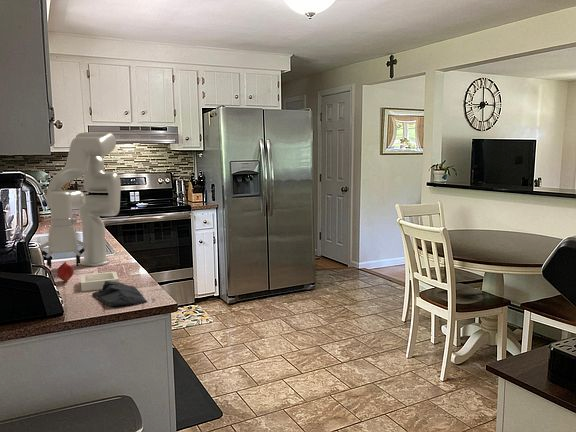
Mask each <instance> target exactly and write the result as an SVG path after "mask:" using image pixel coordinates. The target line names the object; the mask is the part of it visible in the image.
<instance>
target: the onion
mask: <svg viewBox="0 0 576 432" xmlns="http://www.w3.org/2000/svg"><path fill="white" fill-rule="evenodd" d="M56 275H57V277H58V279H60V280H62V281H63V282H68V281H69V280H70V279H71V278H72V277H73V275H74V269H73V267H72V266H71V265H70V264H68V263H67V261H64V262H63V263H62V264H61V265H60V266H59V267H58V269H57V271H56Z"/></svg>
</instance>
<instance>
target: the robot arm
mask: <svg viewBox="0 0 576 432" xmlns="http://www.w3.org/2000/svg"><path fill="white" fill-rule="evenodd" d="M116 140H117V139H116V137H115V135H114V134H113V133H111V132H107V131H106V132H104V131H103V132H97V131H96V132H94V131H93V132H91V131H88V132H80V133H77V134H76V135H75V138H73V139H72V140H71V141H70V142H71V143H70V146H69V150H68V153H67V154H68V155H67V158H66V161H65V162H66V163H65V166H64V167H63V168H62V169H60V170H59V171H58V172H57V173H56V174H55V175H54V176H53V177H52V178H51V180H50V181H49V184H48V187H47V191H46V197H45V200H46V205H47V206H48V207H49V208H50V221H51V222H50V226H49V228H48V235H47V236H48V237H47V238H48V239H47V241H46V242H44V243H43V244H40V245H39V246H38V247H40V248H41V250H42V254H41V255H42V256H44V257H45V258H46V266H48V268H49V269H51V268H52V257H51V255H52V254H57V253H72V252H74V253H75V254H76V255H75V264H76V267H78V266H79V264H80V265H81V266H83V267H97V266H104V265H108V264H110V263H111V260H110V258H107V249H106V248H107V247H106V225H105V223H104V221H103V220H102V218H101V217H115V216H118V214H119V213H120V208H121V189H122V187H121V186H122V185H121V178H120V175H119V174H118V173H116V172H115V171H105V160H104V158H103V157H106V156H107V155H108V154H111V153H112V152H113V151H114V150H115V148H116V145H117V141H116ZM81 177H83V189H84V190H85V191H86V192H88V193H93V194H94V193H101V194H102V193H103V195H101V194H96V195H95V194H94V195H93V194H90V195H85V194H84V192H83V191H81V190H75V189H74V190H73V189H71V190H70V189H62V188H63V186H64V185H65V184H68V183H69V182H71V181H73V180H76V179H79V178H81ZM104 193H105V194H104ZM106 193H107V194H108V195H106ZM74 209H76V210H77V209H79V213H80V218H81V228H82V241H81V240H79V239H78V236H77V230H76V226H75V225H74V224H77V222H78V221H77V219H74V218H73V210H74ZM78 245H80V246H82V247H81V249H78ZM45 248H48V252H47V251H46V250H44V249H45ZM82 254H83V259H82V260H81V255H82Z"/></svg>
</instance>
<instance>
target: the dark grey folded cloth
mask: <svg viewBox="0 0 576 432" xmlns="http://www.w3.org/2000/svg"><path fill="white" fill-rule="evenodd" d="M92 295H93V296H95V297H96V298H97V299H98V300H99V301H102V302H103V303H104V304H106V305H107V306H111V307H120V305H121V306H131V305H132V304H133V305H141V303H142V304H145V302H146V303H148V301H147V299H146V298H145V297H144V296H143V294H142V293H141V292H140V291H139V290H138V288H136V287H135V286H133V285H128V284H125V283H122V282H120V281H119V282H111V281H105V283H104V285H103V289H100V290H98V291H95V292H92Z"/></svg>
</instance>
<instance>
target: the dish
mask: <svg viewBox="0 0 576 432" xmlns="http://www.w3.org/2000/svg"><path fill="white" fill-rule="evenodd" d="M105 281H111V282H119V283H120V278H119V276H118V273H117V271H116V270H115V271H106V272H98V273H97V272H95V273H87V274H86V273H84V274H80V286H81V287H80V288H81V292H88V291H97V290H98V291H100V290H103V285H104V283H105Z"/></svg>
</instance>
